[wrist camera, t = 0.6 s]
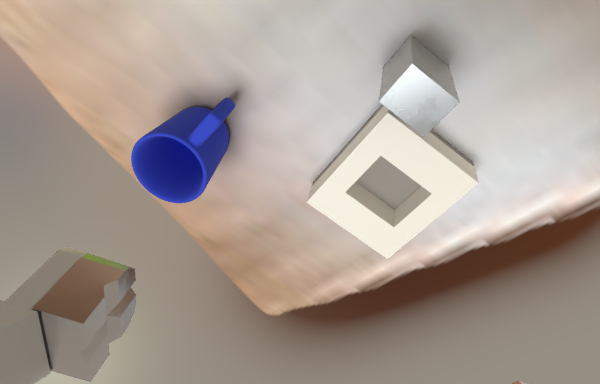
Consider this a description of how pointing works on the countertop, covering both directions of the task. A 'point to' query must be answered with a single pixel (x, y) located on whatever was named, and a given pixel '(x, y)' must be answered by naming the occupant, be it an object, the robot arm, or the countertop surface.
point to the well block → (391, 182)
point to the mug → (183, 153)
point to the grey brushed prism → (417, 87)
